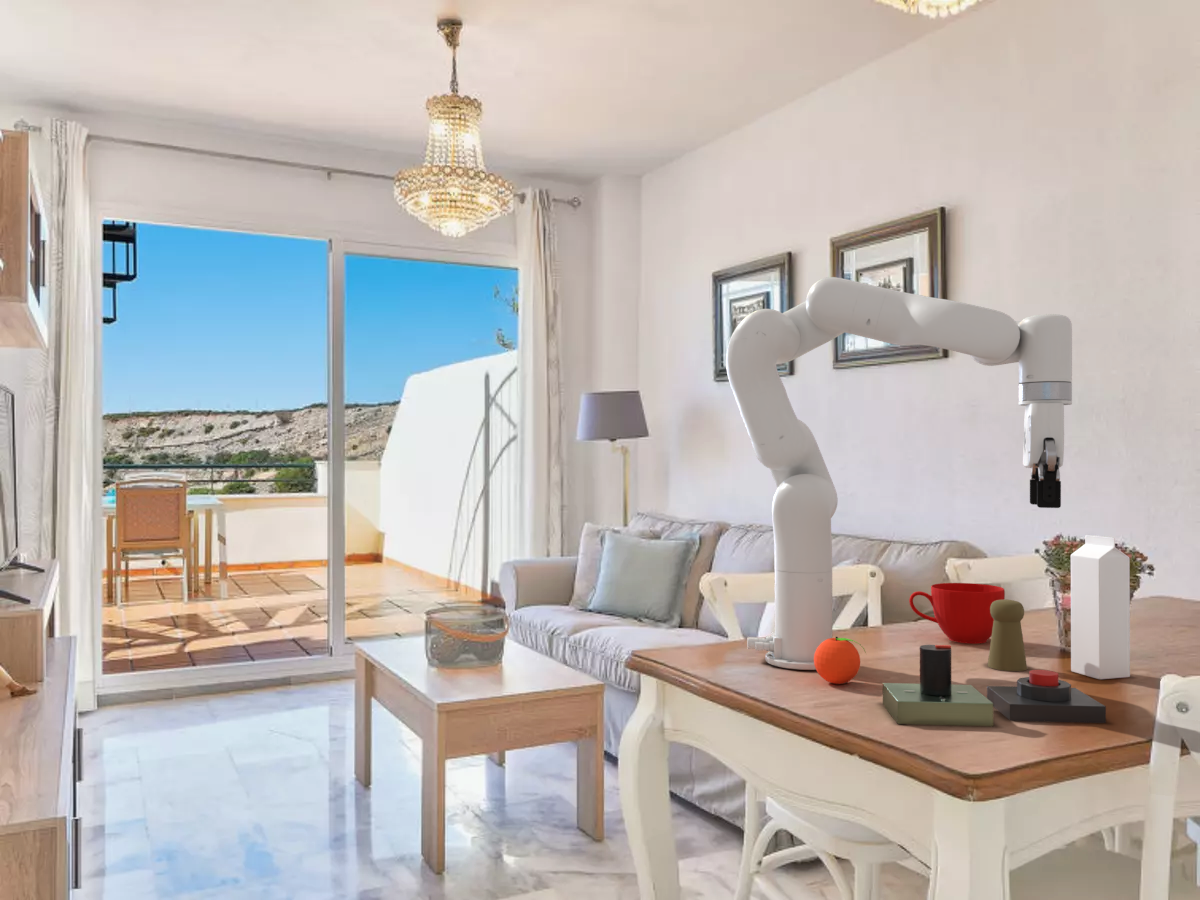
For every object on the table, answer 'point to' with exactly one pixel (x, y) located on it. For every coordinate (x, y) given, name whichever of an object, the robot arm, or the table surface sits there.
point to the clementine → (837, 660)
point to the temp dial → (935, 670)
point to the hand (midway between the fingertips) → (1044, 506)
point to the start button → (1043, 677)
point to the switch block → (1045, 703)
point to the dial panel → (937, 706)
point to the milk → (1100, 609)
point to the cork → (1007, 636)
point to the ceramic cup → (962, 610)
